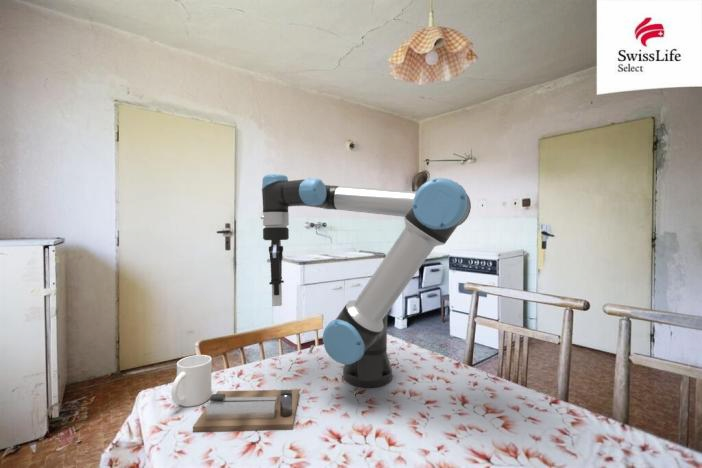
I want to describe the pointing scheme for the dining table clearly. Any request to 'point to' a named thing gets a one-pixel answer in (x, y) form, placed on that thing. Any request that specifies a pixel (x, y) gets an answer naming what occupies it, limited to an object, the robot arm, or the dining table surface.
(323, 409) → the dining table surface
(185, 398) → the mug
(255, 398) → the light grey long bar
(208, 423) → the board
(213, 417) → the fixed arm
